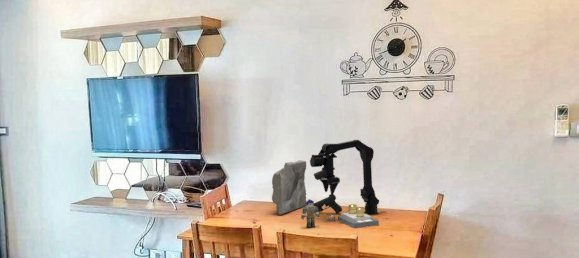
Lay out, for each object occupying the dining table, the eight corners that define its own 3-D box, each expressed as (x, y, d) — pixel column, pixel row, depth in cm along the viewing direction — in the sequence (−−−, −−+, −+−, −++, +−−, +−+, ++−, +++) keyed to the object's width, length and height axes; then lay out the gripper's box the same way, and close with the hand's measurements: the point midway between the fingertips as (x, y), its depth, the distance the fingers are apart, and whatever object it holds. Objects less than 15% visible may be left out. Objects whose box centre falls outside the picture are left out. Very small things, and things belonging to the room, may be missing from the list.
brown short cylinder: (333, 219, 262) (333, 213, 262) (336, 220, 258) (336, 215, 257) (326, 219, 260) (326, 214, 260) (329, 221, 256) (329, 216, 256)
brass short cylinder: (354, 212, 260) (354, 204, 260) (358, 213, 256) (357, 205, 256) (347, 212, 259) (347, 204, 259) (350, 214, 255) (350, 206, 254)
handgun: (342, 211, 273) (334, 193, 274) (317, 222, 277) (308, 204, 277) (343, 210, 275) (334, 192, 276) (317, 222, 279) (308, 203, 279)
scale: (361, 217, 264) (361, 210, 264) (378, 225, 246) (378, 217, 246) (337, 220, 259) (337, 213, 258) (353, 228, 241) (353, 220, 241)
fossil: (284, 216, 271) (283, 165, 269) (270, 215, 275) (269, 165, 273) (308, 205, 301) (307, 159, 300) (296, 204, 305) (295, 159, 304)
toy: (303, 229, 241) (302, 200, 240) (300, 227, 245) (299, 199, 244) (321, 226, 245) (320, 198, 244) (317, 225, 249) (317, 197, 248)
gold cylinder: (361, 215, 252) (361, 207, 252) (365, 216, 248) (365, 208, 248) (354, 215, 251) (354, 207, 251) (358, 217, 247) (358, 209, 247)
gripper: (309, 164, 268) (310, 191, 269) (320, 168, 251) (321, 197, 251) (327, 163, 272) (328, 190, 272) (339, 167, 254) (340, 195, 254)
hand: (329, 193), depth 262 cm, fingers open, 9 cm apart
